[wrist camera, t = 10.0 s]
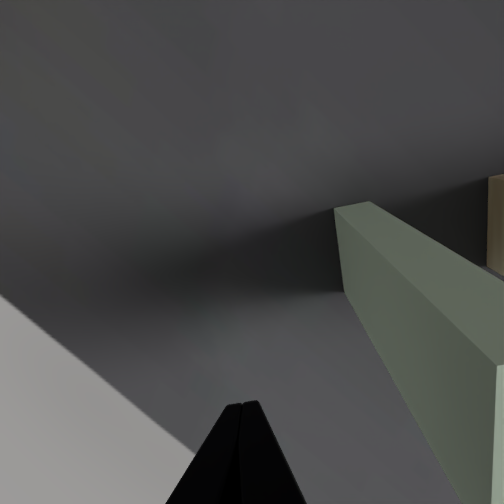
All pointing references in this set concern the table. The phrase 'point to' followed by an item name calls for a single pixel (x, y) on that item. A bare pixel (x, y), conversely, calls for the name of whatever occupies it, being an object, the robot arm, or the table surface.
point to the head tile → (433, 340)
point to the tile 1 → (495, 224)
